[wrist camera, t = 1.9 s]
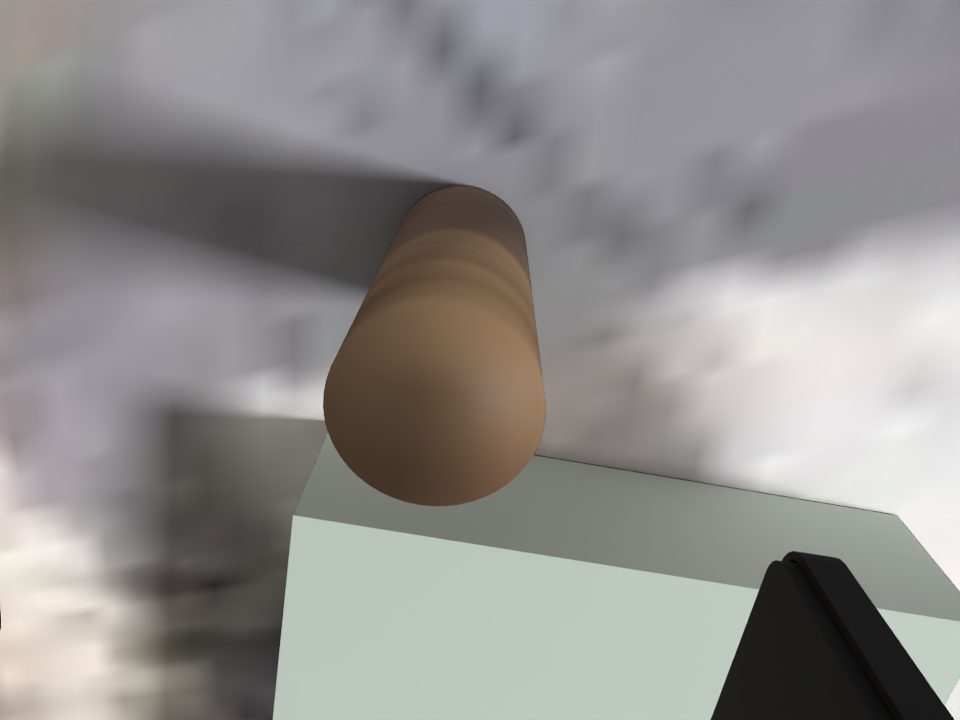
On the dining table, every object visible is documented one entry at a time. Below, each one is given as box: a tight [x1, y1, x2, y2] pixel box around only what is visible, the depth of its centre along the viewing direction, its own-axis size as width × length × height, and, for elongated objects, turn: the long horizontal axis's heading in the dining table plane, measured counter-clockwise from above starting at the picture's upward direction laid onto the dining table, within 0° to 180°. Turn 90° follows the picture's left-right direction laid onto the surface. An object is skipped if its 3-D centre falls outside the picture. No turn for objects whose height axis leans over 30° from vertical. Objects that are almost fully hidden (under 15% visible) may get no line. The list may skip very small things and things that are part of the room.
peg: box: [323, 185, 546, 506], centre depth 17 cm, size 4×4×10 cm
